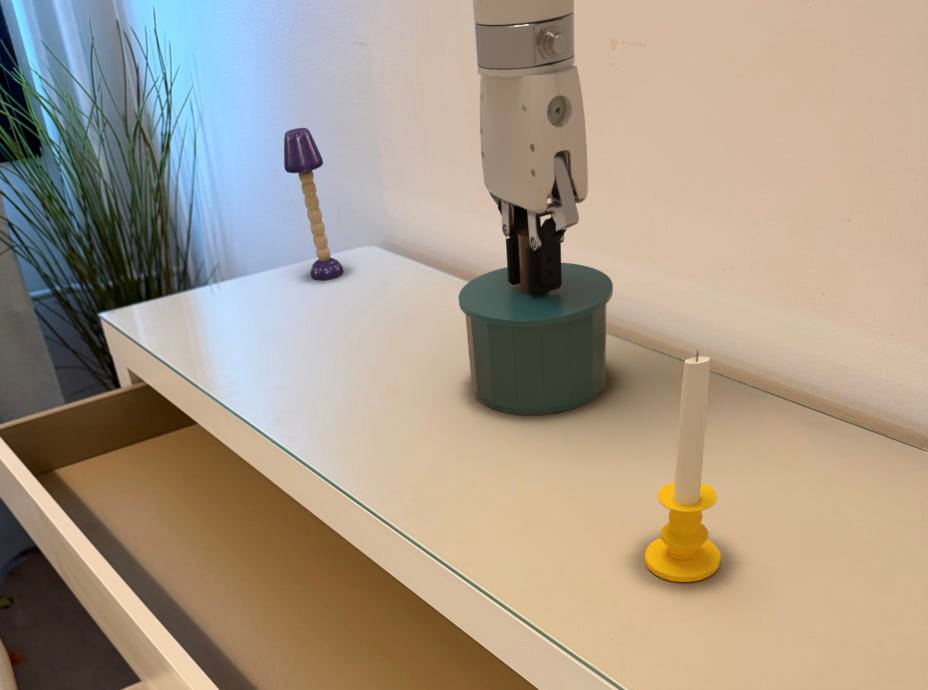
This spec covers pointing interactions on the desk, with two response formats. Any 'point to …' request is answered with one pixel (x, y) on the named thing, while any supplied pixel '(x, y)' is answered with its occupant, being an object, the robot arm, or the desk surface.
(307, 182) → the toy lamp
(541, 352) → the tin
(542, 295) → the lid
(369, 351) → the desk surface
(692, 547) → the candle
